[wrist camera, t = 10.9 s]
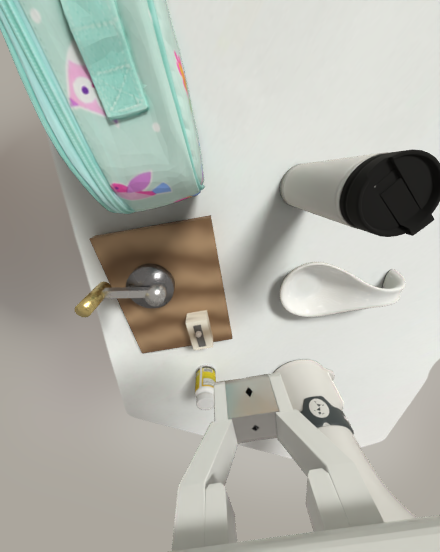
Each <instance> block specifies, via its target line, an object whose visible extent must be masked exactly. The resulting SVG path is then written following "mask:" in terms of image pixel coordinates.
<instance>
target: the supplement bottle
mask: <svg viewBox="0 0 440 552" xmlns="http://www.w3.org/2000/svg"><path fill="white" fill-rule="evenodd" d="M214 382H216V377H215V369H214V368H213V367H212V366H210V365H202V366H200V367H199V368H198V369H197V371H196V385H195V396H196V398H197V399H196V405H197V407H198V408H199V409H201V410H209V409H211V408H213V407H214Z"/></svg>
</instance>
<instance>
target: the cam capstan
mask: <svg viewBox="0 0 440 552" xmlns="http://www.w3.org/2000/svg"><path fill="white" fill-rule="evenodd" d="M174 290H175V281H174V278H173V276H172V274H171V273H170V272H169V271H168V270H167V269H166V268H164V267H162V266H160V265H157V264H150V263H149V264H143V265H140V266H138V267H137V268H136V269H135V270H134V271H133V272H132V273H131V274H130V276H129V277H128V279H127V282H126V287H113V288H112V287H111V285H110V284H109V283H107V282H101V283H99V284H98V285H97V286H96V287H95V288H94V289H93V290H92V291H91V292H90V293H89V294H88V295H87V296H86V297H85V298H84V299H83V300H82V301H81V302H80V303H79V304H78V305H77V306H76V307H75V312H76V314H78V315H79V316H81V317H88V316H90V315H91V313H92V312H93V311H94V310H95V309H96V308H97V306H98V305H99V304H100V303H101V302H102V301H103V299H108V298H131V299H132V300H133V301H134V302H135V303H136V304H138V305H140V306H142V307H145V308H160V307H162V306H164V305H166V304H167V303H168V302H169V301H170V300H171V298H172V296H173V293H174Z"/></svg>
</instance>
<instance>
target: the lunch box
mask: <svg viewBox="0 0 440 552" xmlns="http://www.w3.org/2000/svg"><path fill="white" fill-rule="evenodd" d="M0 30H1V32H2V34H3V37H4V39H5V41H6V43H7V46H8V48H9V51H10V53H11V55H12V58H13V61H14V63H15V65H16V68H17V70H18V73H19V75H20V77H21V80H22V82H23V84H24V86H25V89H26V91H27V93H28V95H29V97H30V100H31V102H32V104H33V106H34V108H35V110H36V113H37V115H38V117H39V119H40V121H41V123H42V125H43V127H44V128H45V130H46V132H47V134H48V136H49V137H50V139H51V141H52V143H53V144H54V146H55V148H56V149H57V151H58V153H59V155H60V156H61V157H62V159H63V160H64V162H65V163H66V164H67V166H68V167H69V169H70V170H71V171H72V172H73V174H74V175H75V176H76V177H77V179H78V180H79V181H80V182H81V184H82V185H83V186H84V187H85V188H86V189H87V191H88V192H89V193H90V194H91V195H92V196H93V197H94V198H95V199H96V200H97V201H98V202H99V203H100V204H101V205H102V206H103V207H104V208H105V209H107V210H108V211H110V212H113V213H124V214H131V213H133V212H137V211H145V210H150V209H153V208H157V207H161V206H165V205H169V204H172V203H175V202H178V201H181V200H184V199H187V198H190V197H193V196H196V195H198V194H199V193H200V191H201V190H202V189H204V188H205V186H204V185H203V182H204V175H203V164H202V158H201V151H200V144H199V138H198V133H197V129H196V125H195V120H194V116H193V110H192V105H191V100H190V94H189V90H188V85H187V80H186V76H185V71H184V67H183V63H182V58H181V54H180V50H179V47H178V43H177V40H176V36H175V33H174V29H173V26H172V22H171V18H170V14H169V10H168V6H167V2H166V0H0Z"/></svg>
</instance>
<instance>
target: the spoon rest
mask: <svg viewBox="0 0 440 552" xmlns="http://www.w3.org/2000/svg"><path fill="white" fill-rule="evenodd" d="M405 285H406V282H405V279H404V277H403V276H402V275H401V274H400V273H399V272H398V271H396V270H395V269H391V270H390V271H389V272H388V274H387V275H386V278H385V281H384V283H383V288H378V287H375V286H372V285H370V284H368V283H366V282H364V281H362V280H361V279H359V278H357V277H356V276H354V275H352V274H351V273H349V272H347V271H345V270H343V269H341V268H339V267H337V266H334V265H331V264H328V263H322V262H310V263H306V264H303V265H300V266H298V267H296V268H295V269H293V270H292V271H291V272H290V273H289V274H288V275H287V276H286V277H285V279H284V280H283V282H282V285H281V288H280V301H281V303H282V305H283V307H284V308H285V309H286V310H287V311H288V312H290V313H292V314H294V315H298V316H303V317H317V316H324V315H330V314H336V313H342V312H348V311H354V310H360V309H367V308H374V307H383V306H388V305H391V304H394V303H396V302H397V301H398V300H399V299H400V295H401V292H402V290H403V289H404V287H405Z"/></svg>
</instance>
